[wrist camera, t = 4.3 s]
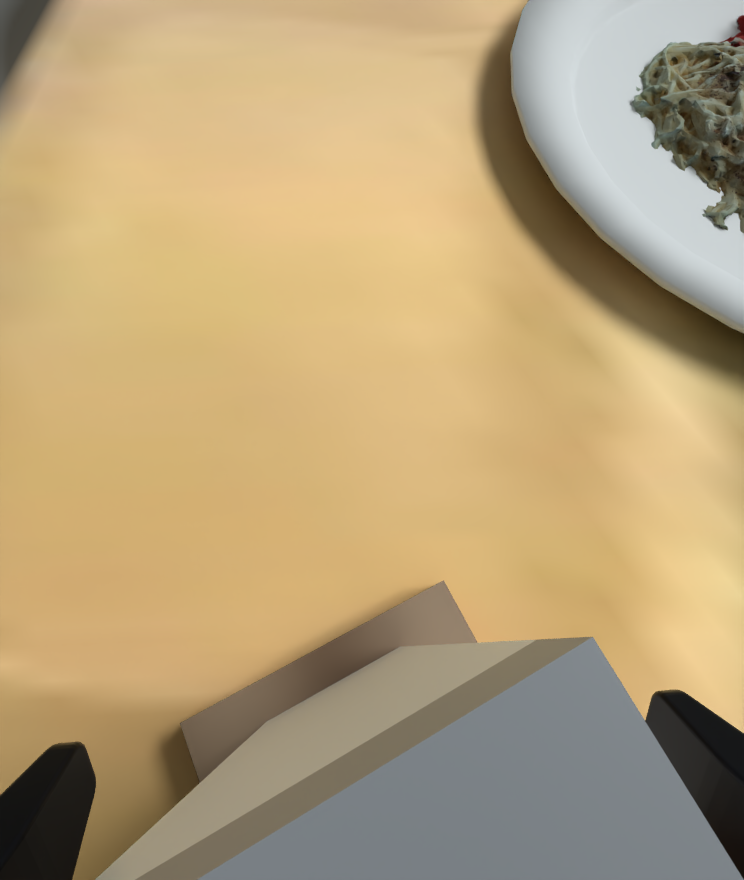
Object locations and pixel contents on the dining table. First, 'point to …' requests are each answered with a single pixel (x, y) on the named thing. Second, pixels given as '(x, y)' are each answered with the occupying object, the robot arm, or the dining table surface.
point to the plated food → (644, 132)
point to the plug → (445, 781)
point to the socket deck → (321, 673)
